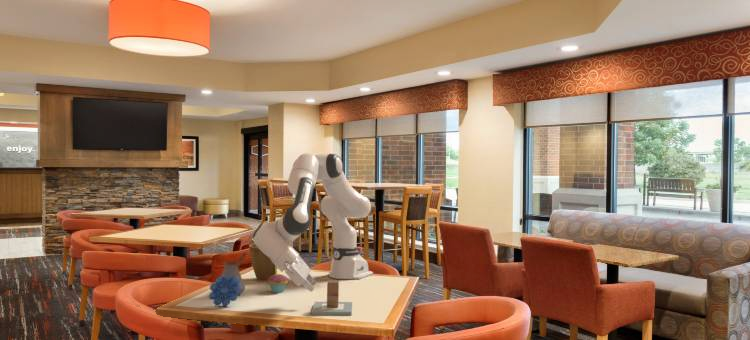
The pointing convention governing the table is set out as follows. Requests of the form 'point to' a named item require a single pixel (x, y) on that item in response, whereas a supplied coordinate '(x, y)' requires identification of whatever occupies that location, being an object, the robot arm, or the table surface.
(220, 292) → the grapes
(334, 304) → the walnut block
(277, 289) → the cupcake
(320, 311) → the plate
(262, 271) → the plant pot
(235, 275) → the coffee pot
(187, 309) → the table surface
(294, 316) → the table surface
